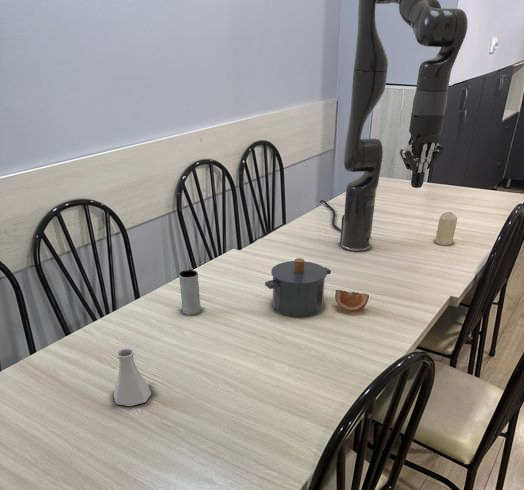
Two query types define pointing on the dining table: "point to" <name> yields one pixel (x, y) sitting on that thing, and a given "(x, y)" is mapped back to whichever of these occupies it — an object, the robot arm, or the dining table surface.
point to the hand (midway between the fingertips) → (416, 187)
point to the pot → (297, 297)
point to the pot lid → (299, 272)
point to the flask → (129, 381)
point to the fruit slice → (351, 300)
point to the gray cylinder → (190, 292)
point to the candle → (446, 229)
